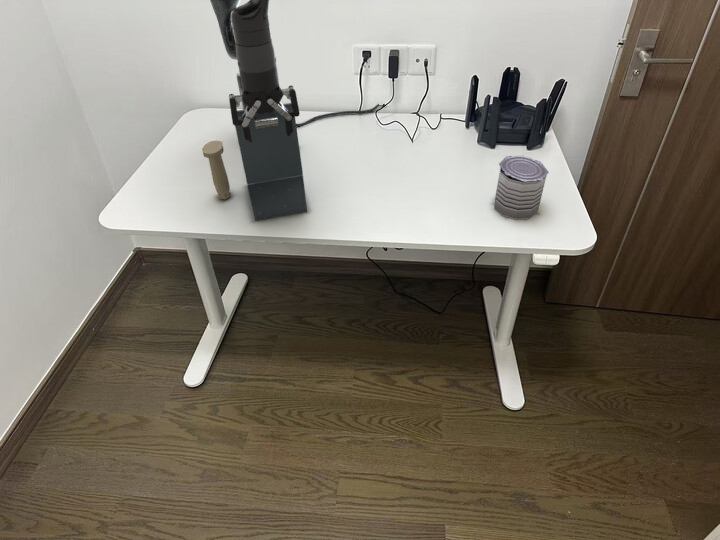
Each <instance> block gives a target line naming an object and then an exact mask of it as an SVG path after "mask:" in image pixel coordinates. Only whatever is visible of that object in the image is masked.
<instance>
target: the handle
mask: <svg viewBox="0 0 720 540" xmlns="http://www.w3.org/2000/svg"><path fill="white" fill-rule="evenodd" d="M224 149H225V148H224V144H223V141H221V140H210V141H209V142H206V143H205V144H204V145H203V147H202V149H201V152H202V154H203V157H204V158H206V159H208V163H209V167H210V172H211V176H212V183H213V186H214V189H215V191H216V193H217V196H218V197H219V199H220V200H227V199H228V198H230V197H231V192H230V190H231V188H230V181H229V176H228V173H227V170H226V167H225V163H224V160H223V157H222V155H223V154H224Z"/></svg>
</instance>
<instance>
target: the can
mask: <svg viewBox="0 0 720 540" xmlns="http://www.w3.org/2000/svg"><path fill="white" fill-rule="evenodd" d="M498 166H499V174H498V180H497V183H496V191H495V196H494V205H493V210H495V211H496V212H497V213H498V214H499V215H500V216H501V217H504V218H507V219H510V220H515V221H520V220H521V221H522V220H530V219H532V218H533V217H534V216H536V215H537V214H538V212H539V208H540V204H541V201H542V196H543V192H544V188H545V183H546V179H547V176H548V174H550V173H549V170H548V169H547V167H545V165H544V164H543V163H542V162H541V161H539V160H537V159H535V158H531V157H528V156H526V155H507V156H505V157H504V158H503V159H502V160H501V161H500V162H499V163H498Z"/></svg>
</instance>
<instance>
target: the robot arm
mask: <svg viewBox="0 0 720 540" xmlns="http://www.w3.org/2000/svg"><path fill="white" fill-rule="evenodd" d="M208 1H209V3H210V6H211V8H212V11H213V14H214V16H215V19H216V23H217V26H218V29H219V32H220V36H221V39H222V43H223V46H224V48H225V51H226V53H227V55H228V57H229V58H230V59H232V60H235V61H237V67H238V72H237V74H236V81H237V87H238V91H239V95H235V94H234V93H230V94H228V101H229V109H230V115H231V120H232V125H233V126H234V127H235V126H237V125H240V126H242V127H243V132H244V137H245V139H246V140H249V142H252V139H251V133H250V128H249V122H250V120H251V119H252V118H253V117H254V115H255V113H258V115H259V114H263V113H272V112H273V111H274V110H276V111H277V112H278V113H279V114H280V115H282V116H283V117H284V119H285V127H286V133H287V136H291V133H293V125H292V118H293V117H295V118H296V117H299V116H300V108H299V103H298V97H297V92H296V90H295V87H294V85H291V84H290V85H289V86H288V87H287V88H281V87H280V81H279V80H280V79H279V73H278V66H277V65H278V64H277V57H276V51H275V46H274V43H273V40H272V39H273V38H272V31H271V25H270V17H269V16H270V14H269V13H270V12H269V11H270V0H248V1H247V2H246V3H244V4H241V5H240V3H241V0H208ZM239 5H240V6H239ZM284 96H285V97H286V99H287V100H290V103H291V106H292V109H291V110H289V111H288V110H287V109H286V108H285V107H284V106H283V104H284V103H282V102H281V101H282V99H283V97H284ZM240 106H241V107H242V110H245V112H244V114H243V116H242V118H241V117H238V115H237V111H238V109H237V108H239V107H240ZM381 106H382V107H387V105H386V104H385V103H384V104H383V105H379V103H377V104H376V105H374V107H371V108H369V109H365V110H364V109H363V110H343V111H336V112H329V113H324V114H320V115H316V116H313V117H312V118H310V119H308V120H306V121H304V122H301V123H296V127H303V126H306V125H308V124H310V123H311V122H314V121H315V120H317V119H321V118H322V119H323V118H326V117H330V116H338V115H347V114H368V113H372V112H374V111H375V110H377V109H378V108H379V107H381Z"/></svg>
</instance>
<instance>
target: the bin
mask: <svg viewBox="0 0 720 540" xmlns="http://www.w3.org/2000/svg"><path fill="white" fill-rule="evenodd" d="M246 186H247V190H248V195H249V200H250V205H251V210H252V214H253V219H254V222H258V221H262V220H263V221H264V220H267V219H274V218H279V217H284V216H289V215H290V216H291V215H295V214H300V213H307V212H308V207H307V206H308V205H307V197H306V190H305V181H304V174H303V175H299V176H293V177H287V178H281V179H275V180H269V181H263V182H257V183H251V184H247V183H246Z"/></svg>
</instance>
